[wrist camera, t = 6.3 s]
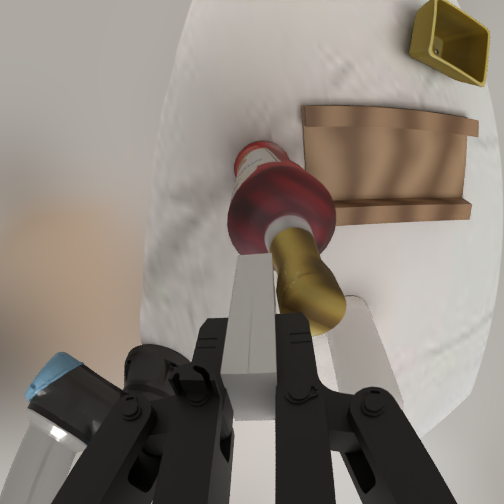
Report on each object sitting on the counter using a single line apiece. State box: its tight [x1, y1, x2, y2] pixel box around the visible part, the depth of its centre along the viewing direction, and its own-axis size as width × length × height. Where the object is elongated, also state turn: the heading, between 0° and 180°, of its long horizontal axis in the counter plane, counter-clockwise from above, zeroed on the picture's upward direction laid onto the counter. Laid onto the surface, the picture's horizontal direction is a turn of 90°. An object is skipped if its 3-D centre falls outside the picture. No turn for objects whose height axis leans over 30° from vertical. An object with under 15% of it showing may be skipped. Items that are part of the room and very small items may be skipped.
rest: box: [301, 105, 479, 226], centre depth 33 cm, size 25×15×3 cm, turn 96°
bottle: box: [326, 296, 403, 411], centre depth 34 cm, size 8×8×30 cm
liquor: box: [227, 141, 347, 336], centre depth 24 cm, size 7×7×28 cm
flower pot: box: [409, 0, 490, 87], centre depth 22 cm, size 9×9×9 cm
